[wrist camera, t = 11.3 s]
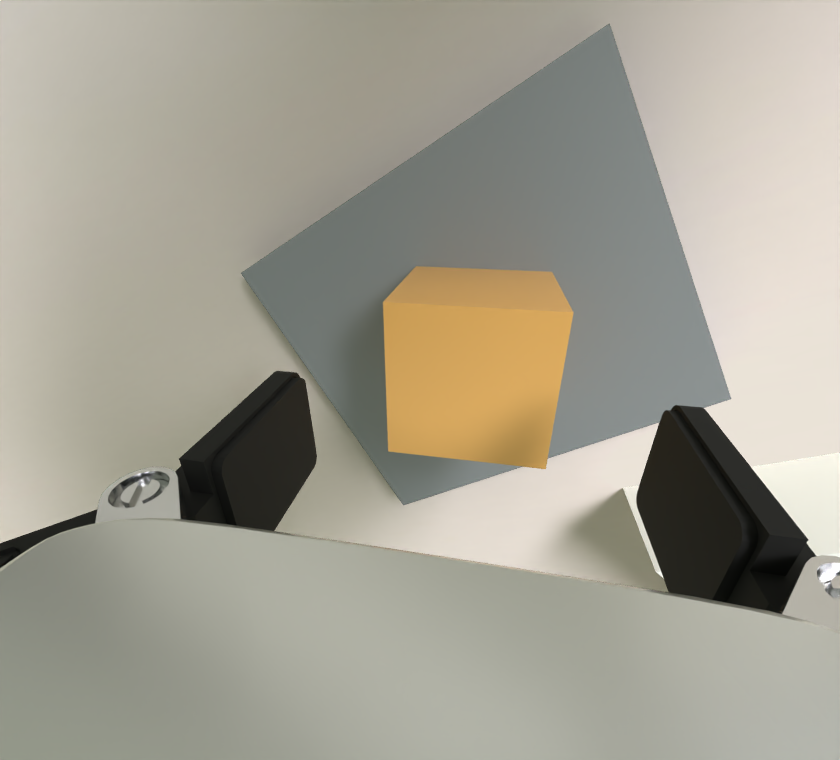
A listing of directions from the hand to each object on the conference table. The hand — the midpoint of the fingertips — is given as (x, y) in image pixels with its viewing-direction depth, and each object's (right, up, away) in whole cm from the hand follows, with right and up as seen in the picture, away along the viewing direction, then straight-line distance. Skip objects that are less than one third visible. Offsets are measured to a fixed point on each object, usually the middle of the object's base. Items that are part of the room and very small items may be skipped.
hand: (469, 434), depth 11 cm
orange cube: (+1, +4, +9) cm, 10 cm away
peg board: (+2, +4, +10) cm, 11 cm away
